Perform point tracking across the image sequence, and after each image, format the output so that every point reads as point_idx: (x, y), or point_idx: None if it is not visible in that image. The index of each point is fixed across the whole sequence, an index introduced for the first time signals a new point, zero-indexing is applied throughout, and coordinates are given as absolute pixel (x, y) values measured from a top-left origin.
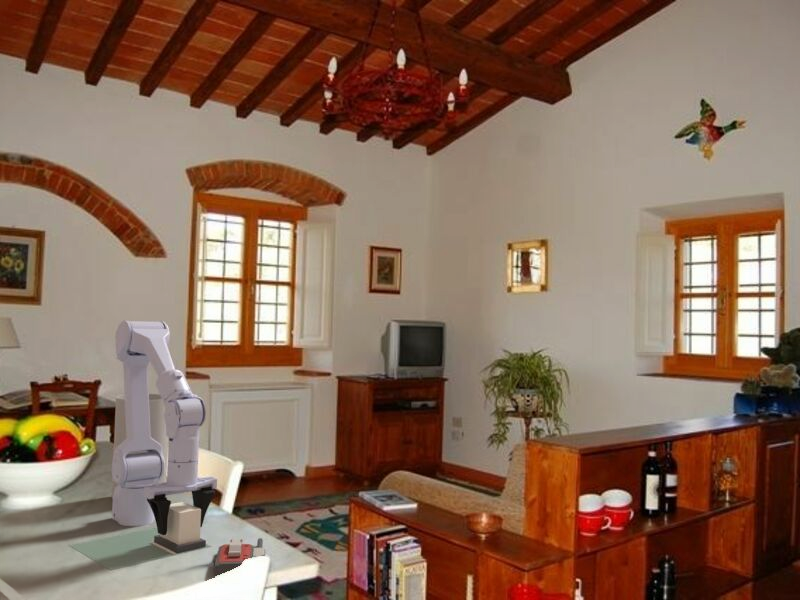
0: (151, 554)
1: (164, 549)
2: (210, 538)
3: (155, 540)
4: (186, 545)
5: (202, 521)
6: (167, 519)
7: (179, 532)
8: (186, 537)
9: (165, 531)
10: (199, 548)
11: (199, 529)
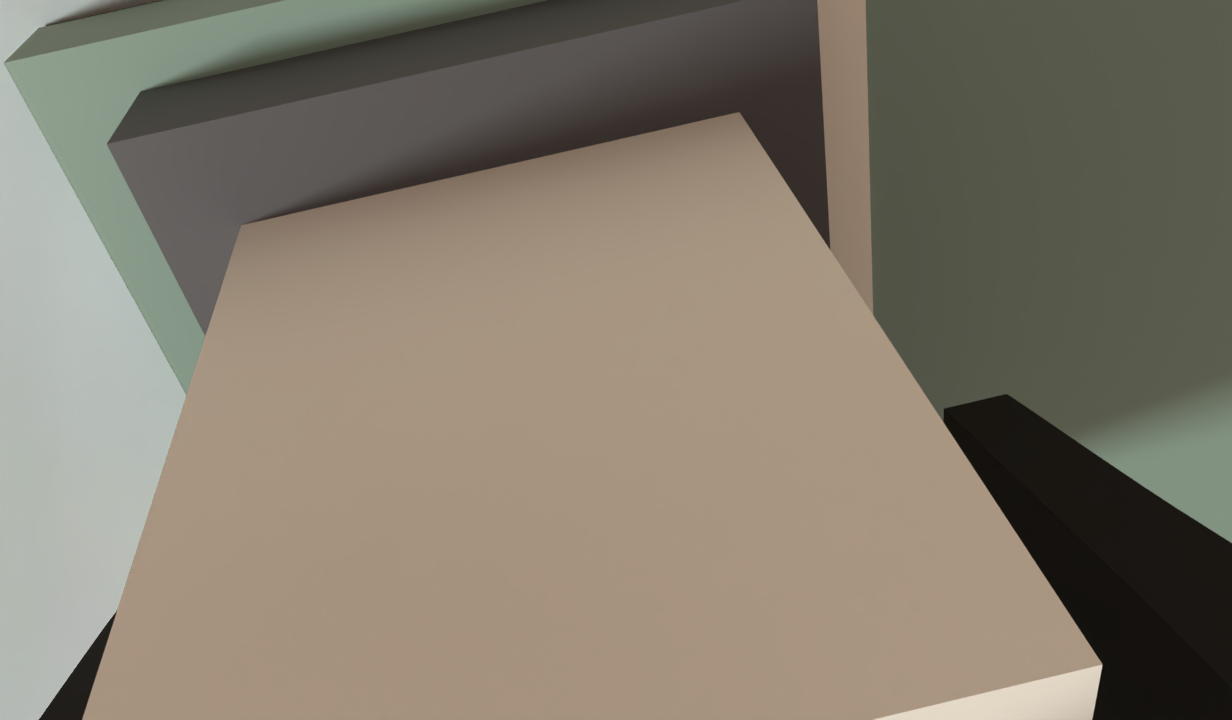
0: (1139, 112)
1: (870, 246)
2: (3, 616)
3: None
4: (598, 30)
5: (75, 688)
6: (1170, 622)
7: (811, 241)
8: (582, 203)
9: (1014, 430)
10: (286, 48)
11: (222, 351)
